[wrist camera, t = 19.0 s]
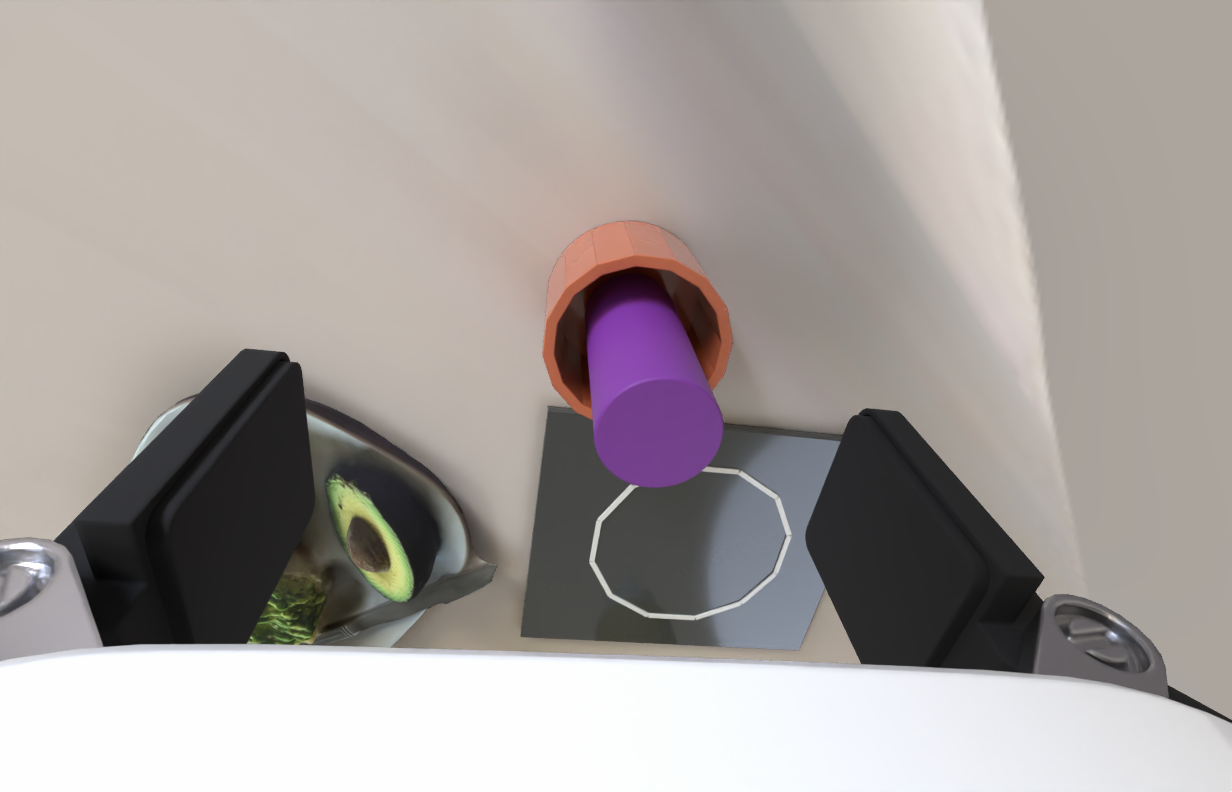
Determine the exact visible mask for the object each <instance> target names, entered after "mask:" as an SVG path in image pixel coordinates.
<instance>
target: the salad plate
mask: <svg viewBox="0 0 1232 792" xmlns="http://www.w3.org/2000/svg"><path fill="white" fill-rule="evenodd" d="M197 395H198V394H196V395H193V396H190V397H188V398H185V399H183V400H181V401H179V402H178V403H176V404H175V405H174V406H172V407H171V408H170V409H168V410H167V411H165V412H164V413H163V414H161V415H160V416H159V417H158V418H157V419H156V420H155V422H154V423H153V424H152V425H151V426H150V428H149V429H148V430H147V432H146V434H145V436H144V437H143V438H142V440H141V443H140V444H139V446H138V448H137V450H136V452H135V454H134V457H133V459H132V460H131V462H132V461H133V460H134V459H135V458H136V457H137V456H138V455H139V454H140V453H141V452H142V451H143V450H144V449H145V448H146V447H147V446H148V445H149V444H150V443H151V442H152V441H153V440H154V439H155V438H156V437H157V436H158V435H159V434H160V433H161V432H162V431H163V430H164V429H165V427H166V426H167V425H168V424H169V423H170V422H171V421H172V420H173V419H174V418H175V417H176V416H177V415H178V414H179V413H180V412H181V411H182V410H183V409H184V408H185V407H186V406H187V405H188V404H189V403H190V402H191V401H192V400H193V399H194V398H195V397H196V396H197ZM305 405H306V414H307V423H308V432H309V441H310V450H311V459H312V469H313V478H314V487H315V507H314V511H313V515H312V517H311V519H310V521H309V523H308V525H307V527H306V529H305V531H304V533H303V535H302V537H301V539H300V541H299V543H298V545H297V547H296V549H295V551H294V553H293V554H292V556H291V558H290V560H289V562H288V564H287V566H286V568H285V570H284V572H283V574H282V576H281V578H280V580H279V582H278V584H277V586H276V588H275V590H274V592H273V594H272V596H271V597H270V599H269V601H268V603H267V605H266V607H265V609H264V611H263V613H262V615H261V617H260V619H259V621H258V623H257V625H256V627H255V629H254V631H253V633H252V635H251V637H250V639H249V640H248V642H247V644H275V645H318V646H357V647H392V646H393V645H394V644H395V643H396V642H397V641H398V640H399V639H400V638H401V637H402V635H403V634H405V633H406V631H407V630H408V629H409V628H410V627H411V626H412V625H413V624H414V623H415V622H416V621H417V620H418V619H419V618H420V617H421V615H422V614H423V613H424V612H425V610H426V609H428V608H431V607H432V606H434V605H436V604H438V603H444V604H447V603H449V602H452V601H454V600H457V599H459V598H462V597H464V596H466V595H468V594H470V593H472V592H474V591H476V590H478V589H480V588H482V587H484V586H485V585H487V584H488V583H490V582H491V581H492V578H493V573H494V572H495V570H496V568H497V565H494V564H491V563H488V562H485V561H483V560H482V559H481V558H480V557H478V555H477V553H476V552H475V550H474V548H473V545H472V543H471V539H470V534H469V530H468V527H467V523H466V520H465V518H464V515H463V512H462V510H461V508H460V507H459V505H458V504H457V502H456V500H455V499H454V497H453V496H452V495H451V494H450V493H449V491H448V490H447V489H446V488H445V487H444V485H443V484H442V483H441V482H440V481H439V479H438V478H437V477H436V476H435V475H434V474H433V473H432V472H431V471H430V470H429V469H427V468H426V467H425V466H424V465H422V464H421V463H420V462H418V461H417V460H415V459H414V458H412V457H411V456H409V455H408V454H407V453H405V452H404V451H403V450H401V449H400V448H398V447H397V446H395V445H393V444H392V443H390V442H389V441H388V440H386V439H385V438H383V437H382V436H380V435H379V434H377V433H376V432H374V431H372V430H371V429H369V428H368V427H367V426H365V425H364V424H362V423H361V422H359V421H357V420H355V419H353V418H351V417H349V416H347V415H345V414H343V413H341V412H339V411H337V410H335V409H332V408H330V407H328V406H325V405H323V404H320V403H317V402H314V401H311V400H308V399H305ZM131 462H130V463H131Z"/></svg>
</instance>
